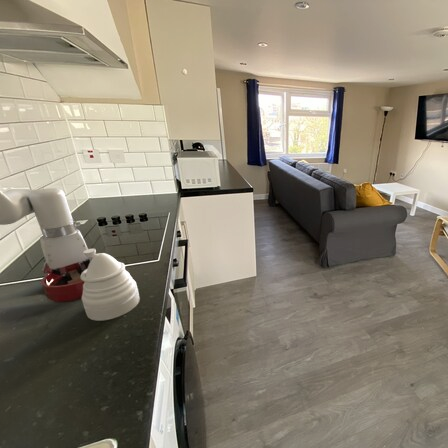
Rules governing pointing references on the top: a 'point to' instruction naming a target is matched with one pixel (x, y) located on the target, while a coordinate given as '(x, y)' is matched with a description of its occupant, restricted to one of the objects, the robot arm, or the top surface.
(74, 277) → the t-shaped block
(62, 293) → the bowl
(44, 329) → the top surface
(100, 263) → the honey pot
